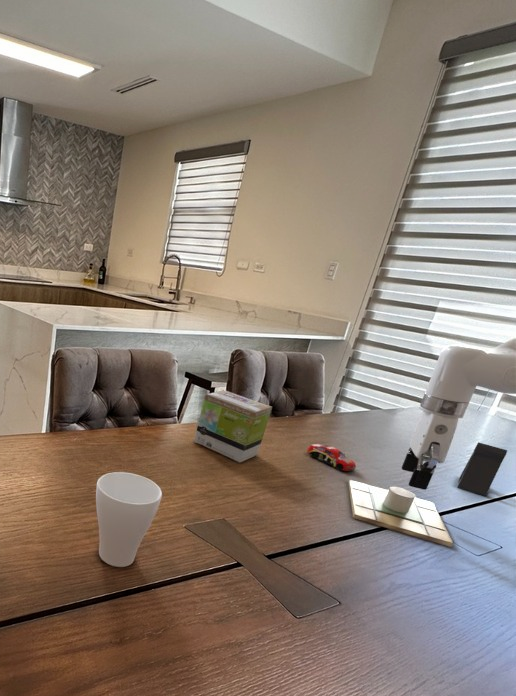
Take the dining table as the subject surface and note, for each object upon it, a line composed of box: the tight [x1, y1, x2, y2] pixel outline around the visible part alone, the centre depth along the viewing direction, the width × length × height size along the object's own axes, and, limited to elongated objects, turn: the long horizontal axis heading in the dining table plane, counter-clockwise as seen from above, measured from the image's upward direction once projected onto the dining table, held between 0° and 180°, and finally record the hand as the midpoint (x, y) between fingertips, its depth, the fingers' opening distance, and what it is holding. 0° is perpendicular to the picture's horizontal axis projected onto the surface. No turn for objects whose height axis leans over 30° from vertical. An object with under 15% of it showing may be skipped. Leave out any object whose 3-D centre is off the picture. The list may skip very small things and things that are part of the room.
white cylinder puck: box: [383, 486, 416, 513], centre depth 107 cm, size 5×5×4 cm
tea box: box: [193, 389, 273, 464], centre depth 128 cm, size 15×10×15 cm
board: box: [347, 479, 454, 548], centre depth 108 cm, size 18×20×1 cm
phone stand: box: [457, 442, 508, 497], centre depth 124 cm, size 9×6×12 cm, turn 138°
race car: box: [306, 443, 356, 472], centre depth 130 cm, size 13×5×4 cm, turn 26°
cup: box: [95, 471, 163, 568], centre depth 78 cm, size 10×10×14 cm
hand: (412, 478), depth 104 cm, fingers open, 9 cm apart
